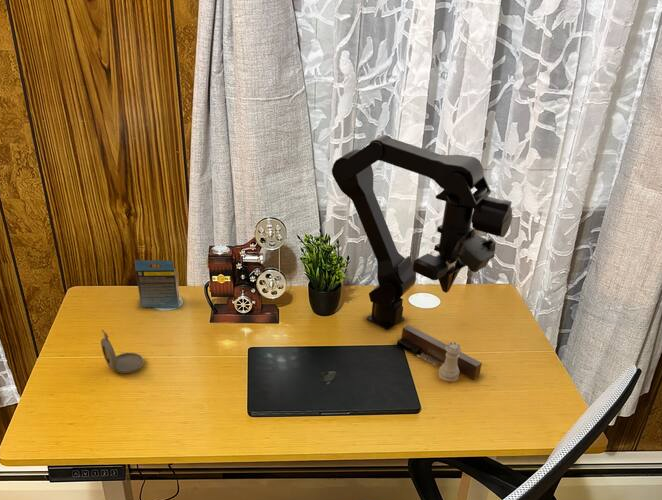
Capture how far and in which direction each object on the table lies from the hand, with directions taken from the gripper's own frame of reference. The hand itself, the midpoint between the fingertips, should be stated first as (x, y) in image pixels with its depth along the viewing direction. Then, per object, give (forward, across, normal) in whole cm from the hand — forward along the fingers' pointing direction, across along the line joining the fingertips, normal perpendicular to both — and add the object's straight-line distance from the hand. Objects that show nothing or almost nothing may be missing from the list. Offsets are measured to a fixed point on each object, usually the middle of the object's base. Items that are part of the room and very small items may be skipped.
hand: (445, 291), depth 162 cm
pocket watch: (+12, -58, +39) cm, 71 cm away
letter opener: (+12, -8, -1) cm, 15 cm away
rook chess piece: (+12, -10, -10) cm, 19 cm away
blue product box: (+12, -37, +54) cm, 67 cm away
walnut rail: (+12, -6, -5) cm, 14 cm away
